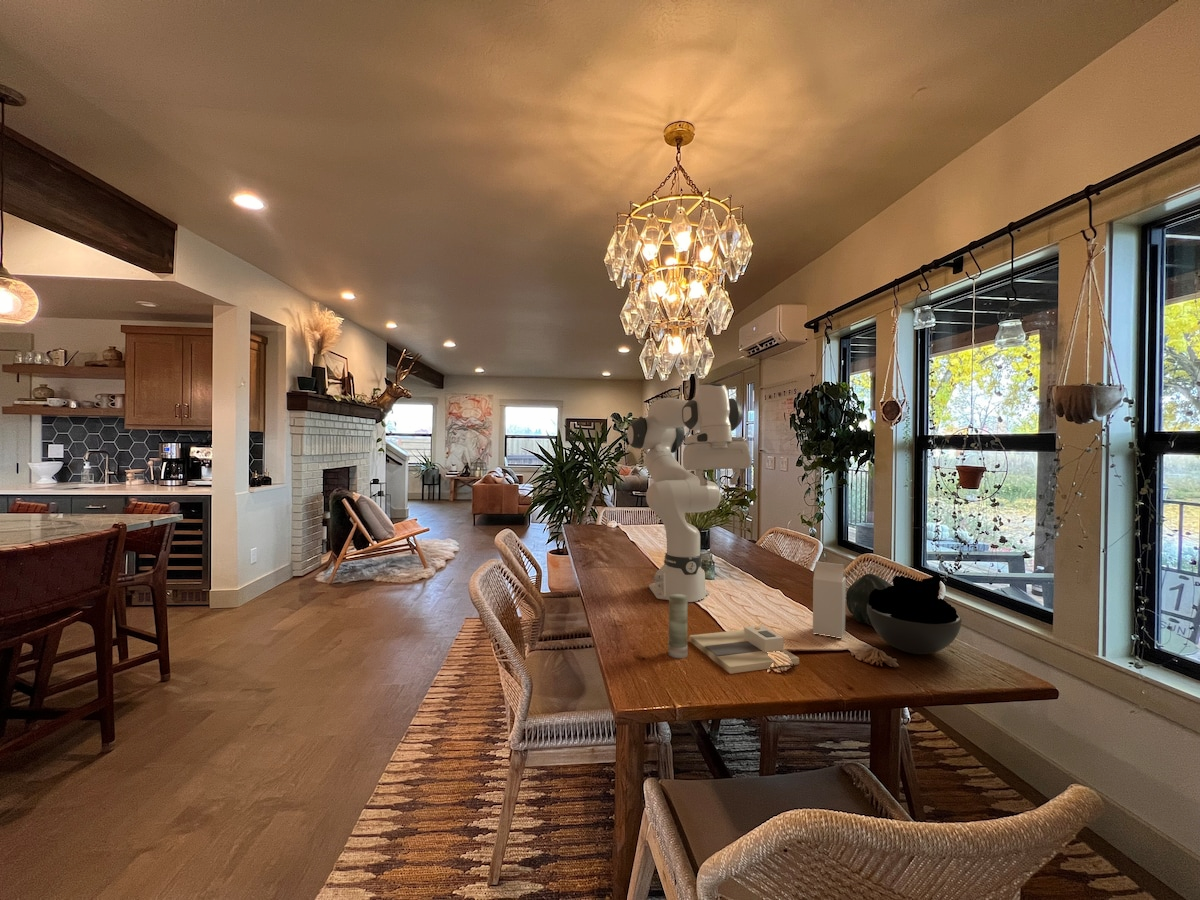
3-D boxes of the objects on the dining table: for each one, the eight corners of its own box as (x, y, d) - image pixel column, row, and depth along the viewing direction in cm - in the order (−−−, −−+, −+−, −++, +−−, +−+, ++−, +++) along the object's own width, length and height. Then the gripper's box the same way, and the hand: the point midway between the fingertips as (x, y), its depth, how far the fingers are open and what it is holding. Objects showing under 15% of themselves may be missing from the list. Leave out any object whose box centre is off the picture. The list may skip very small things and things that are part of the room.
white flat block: (689, 641, 135) (689, 634, 135) (750, 634, 140) (750, 628, 140) (730, 673, 116) (730, 666, 116) (799, 664, 121) (799, 657, 121)
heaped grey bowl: (873, 661, 123) (874, 581, 123) (861, 632, 142) (861, 563, 142) (974, 673, 116) (975, 589, 116) (946, 642, 135) (947, 569, 135)
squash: (901, 597, 156) (866, 559, 157) (923, 615, 142) (884, 572, 143) (862, 626, 159) (828, 588, 160) (880, 647, 144) (842, 604, 145)
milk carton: (841, 640, 136) (842, 567, 136) (812, 634, 140) (813, 563, 140) (845, 631, 142) (845, 562, 142) (817, 627, 146) (817, 559, 146)
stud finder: (744, 638, 132) (744, 626, 132) (761, 636, 134) (761, 624, 134) (765, 652, 124) (765, 638, 124) (783, 650, 125) (783, 636, 125)
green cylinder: (665, 651, 128) (665, 594, 128) (682, 649, 129) (682, 593, 129) (673, 659, 124) (673, 600, 123) (690, 657, 125) (691, 598, 125)
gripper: (742, 438, 157) (745, 484, 156) (679, 439, 152) (682, 486, 151) (753, 435, 151) (757, 483, 150) (688, 436, 146) (691, 486, 145)
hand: (718, 485), depth 150 cm, fingers open, 8 cm apart
